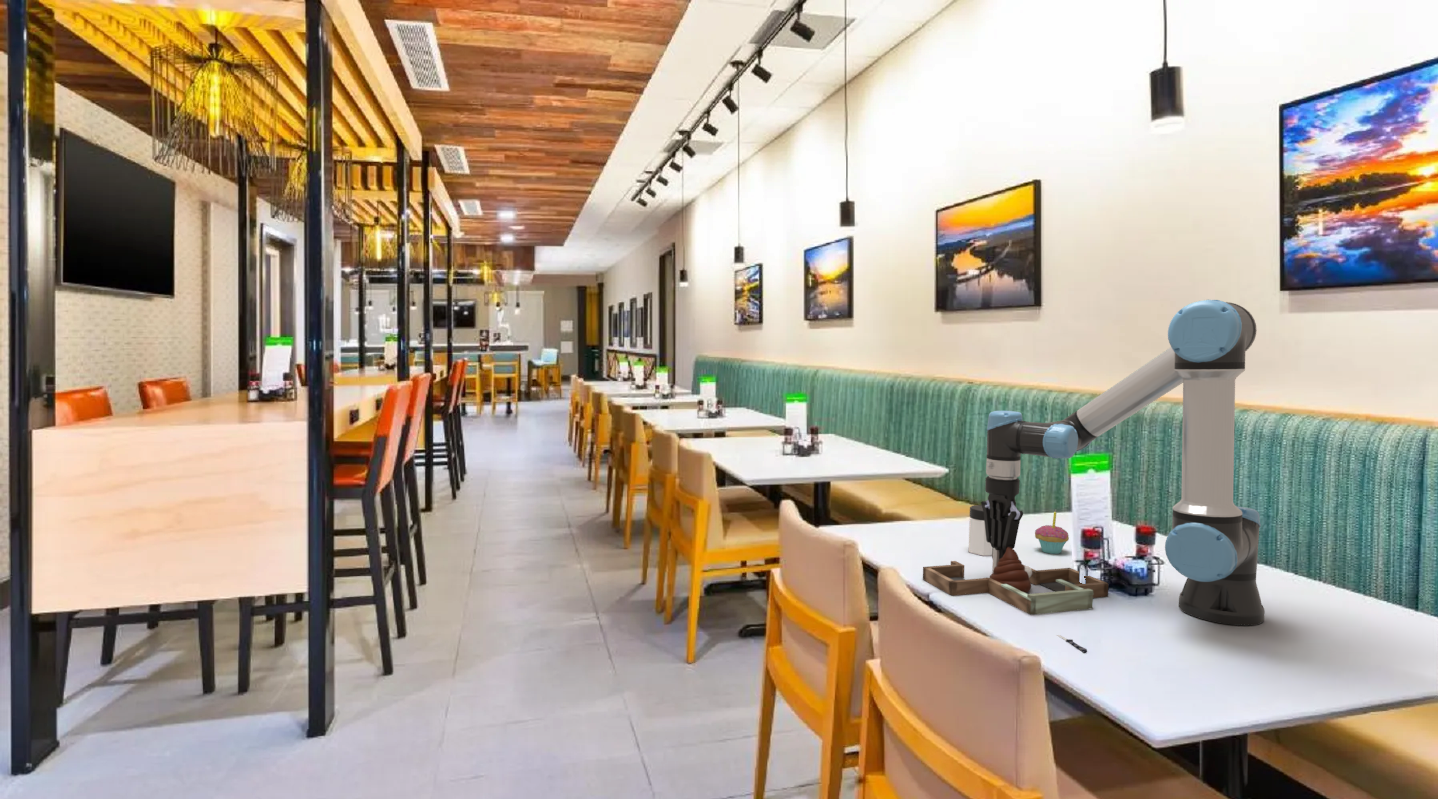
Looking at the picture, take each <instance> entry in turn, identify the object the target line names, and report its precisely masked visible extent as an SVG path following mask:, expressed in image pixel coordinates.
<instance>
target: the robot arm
mask: <svg viewBox="0 0 1438 799" xmlns="http://www.w3.org/2000/svg"><path fill="white" fill-rule="evenodd" d="M1257 330H1258V329H1257V323H1256V321H1255V318H1254V316H1253V315H1252V314H1251V312H1250V311H1249V310H1248V309H1246V308H1245V307H1243V306H1241V305H1240V304H1237V303H1233V302H1228V301H1223V300H1219V299H1206V300H1205V299H1204V300H1198V301H1194V302H1191V303H1189V304H1187V305H1185V306H1183V307H1182V308H1181V309H1179V310H1178V311H1177V312H1176V313H1175V315H1174V316H1172V318H1171V321H1170V322H1169V325H1168V330H1167V339H1168V343H1169V345H1170V347H1168V348H1167V349H1166V350H1165V351H1162V353H1160V354H1158V355H1157V356H1156V357H1154V358H1152V359H1151V360H1149V361H1148V362H1147V363H1145V364H1143V365H1142V366H1140V367H1139V368H1138V369H1137V370H1134V371H1133V372H1132V373H1130V374H1129V375H1128V376H1126V377H1124V378H1123V379H1122V380H1120V381H1118V382H1117V383H1115V384H1114V385H1113V386H1111V387H1110V388H1108V389H1107V390H1106V391H1104V392H1102V393H1101V394H1099V395H1097V396H1096V397H1095V398H1093V399H1092V400H1090V401H1089V402H1087V403H1086V404H1085V405H1083V406H1082V407H1080V408H1079V409H1077V410H1076V411H1075V412H1073V413H1071V414H1070V415H1069V416H1066V417H1065V418H1063V419H1062V420H1056V421H1051V422H1034V421H1026V420H1023V415H1022V414H1023V413H1021V412H1020V411H1016V410H1015V411H1014V410H994V411H991V412H989V414H988V418H987V426H986V427H987V428H986V434H987V435H986V437H987V438H986V463H985V464H986V465H985V466H986V468H985V470H986V471H985V474H986V475H987V476H986V477H985V485H984V486H985V488H984V491H985V492H986V493H987V494H988V496H987V500H983V501H981V504H980V505H982V508H983V512H984V522H985V531H986V540H987V542H988V543H989V542H990V543H991V546H992V556H991V558H992V568H991V569H992V571H991V574H992V573H993V570H994V568H995V567H996V566H997V563H998V562H999V559H1001V558H1002V557H1003V555H1004V554H1005V552H1006V549H1007V547H1010V548H1012V549H1015V548H1016V547H1015V546H1016V541H1017V537H1018V533H1019V527H1020V521H1021V519H1022V518H1023V516H1024V512H1023V510H1018V508H1017V507H1016V506H1017V502H1016V496H1017V495H1019V494H1020V480H1021V479H1019V477H1020V476H1021V457H1022V456H1021V455H1030V456H1039V457H1047V458H1052V459H1054V460H1055V459H1070V458H1072V457H1073V456H1074V454H1075V453H1076V452H1079V451H1081V450H1084V449H1085V448H1087V447H1089V445H1091V444H1092V442H1093V441H1094V440H1096V439H1097V438H1098V437H1100V436H1102V435H1103V434H1105V433H1107V431H1109V430H1111V429H1112V428H1114V427H1115V426H1117V425H1119V424H1120V423H1122V422H1123V421H1126V420H1127V419H1128V418H1130V417H1132V416H1133V415H1135V414H1136V413H1138V412H1139V411H1141V410H1142V409H1144V408H1145V407H1147V406H1148V405H1151V404H1152V403H1154V402H1155V401H1157V400H1158V399H1160V398H1162V396H1163V397H1164V396H1165V395H1166V394H1168V393H1169V392H1170V391H1172V390H1174V389H1175V388H1177V387H1179V386H1181V385H1182V435H1181V436H1182V438H1181V439H1182V445H1181V446H1182V447H1181V448H1182V449H1181V499H1180V500H1179V501H1178V502H1176V503H1175V504H1174V505H1173V506H1172V520H1171V521H1172V523H1171V524H1172V526H1171V530H1170V531H1169V533H1168V534H1167V537H1166V540H1165V543H1164V550H1165V556H1166V558H1167V560H1168V562H1169V564H1170V565H1171V566H1172V567H1173V569H1175V571H1177V572H1178V573H1179V574H1181V575H1182V576H1184V577H1185V578H1186V580H1185V582H1184V586H1183V588H1182V591H1181V592H1180V593H1179V596H1178V608H1179V610H1181V611H1182V612H1184V613H1185V614H1188V615H1190V616H1192V617H1195V618H1197V619H1201V620H1205V621H1208V622H1212V623H1213V622H1214V623H1217V624H1223V625H1230V626H1231V625H1233V626H1256V625H1260V624H1263V623H1264V621H1265V608H1264V605H1263V604H1262V599H1261V596H1260V591H1259V588H1258V584H1257V571H1258V556H1259V555H1258V553H1259V537H1260V528H1261V525H1262V524H1261V522H1260V520H1261V519H1260V516H1261V515H1260V513H1259V511H1258V510H1257V509H1255V508H1250V507H1246V506H1245V507H1244V506H1237V505H1236V504H1235V502H1234V477H1235V476H1234V472H1235V471H1234V470H1235V469H1234V465H1235V464H1234V462H1235V418H1236V417H1235V413H1236V412H1235V409H1236V379H1237V378H1238V377H1239V376H1240V375H1241V374H1243V373H1244V372H1245V370H1246V352H1247V351H1248V350H1249V349H1250V348H1251V346H1252V345H1253V343H1254V341H1256V340H1255V339H1256V335H1257Z"/></svg>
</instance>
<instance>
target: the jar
mask: <svg viewBox="0 0 1438 799" xmlns="http://www.w3.org/2000/svg"><path fill="white" fill-rule="evenodd" d="M968 553H971V554H974V555H978V556H982V557H992V546H991V543H990V542H989V543H988V542H987V540H986V531H985V522H984V512H983V508H982V505H981V504H976V505H975V504H974V505H971V506H970V507H969V528H968Z"/></svg>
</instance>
